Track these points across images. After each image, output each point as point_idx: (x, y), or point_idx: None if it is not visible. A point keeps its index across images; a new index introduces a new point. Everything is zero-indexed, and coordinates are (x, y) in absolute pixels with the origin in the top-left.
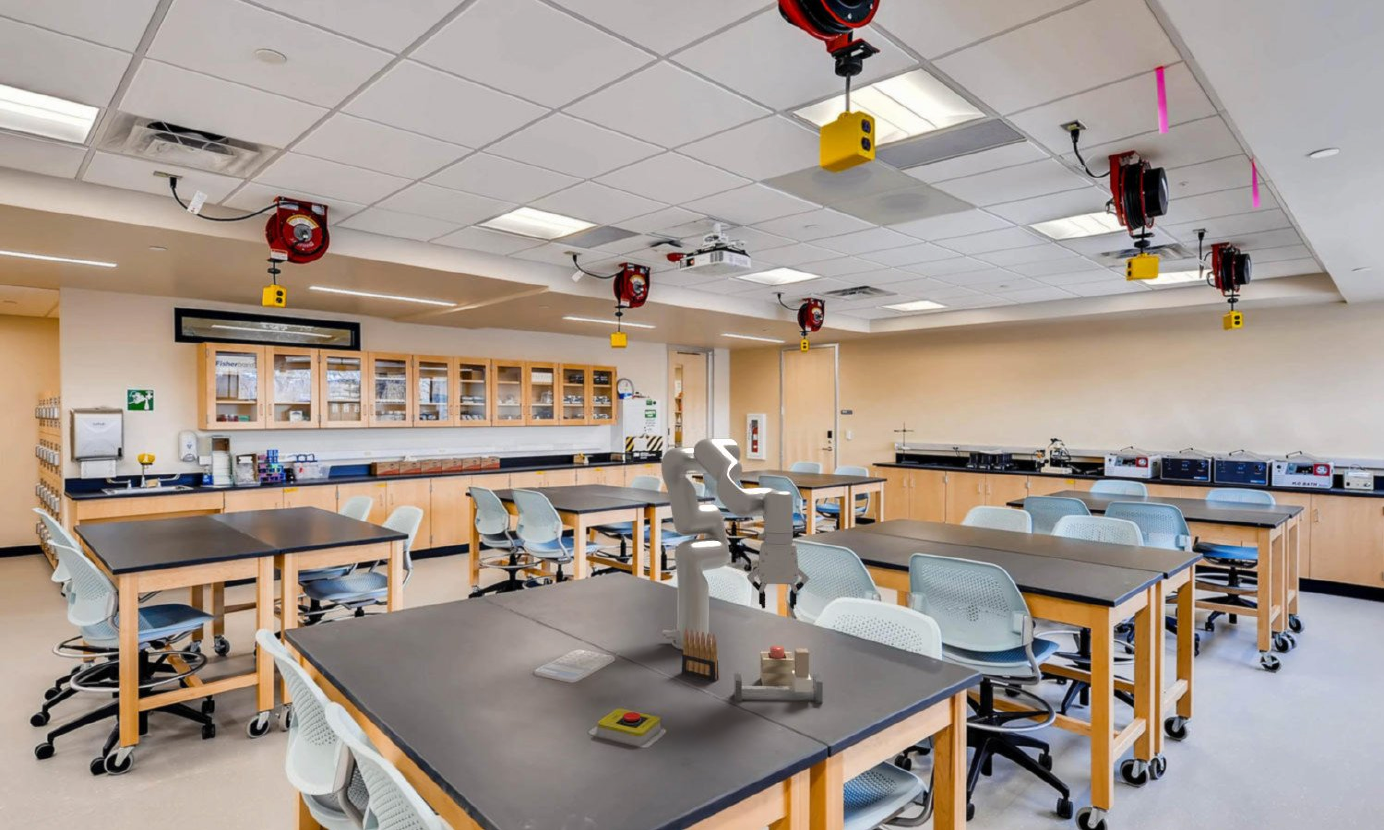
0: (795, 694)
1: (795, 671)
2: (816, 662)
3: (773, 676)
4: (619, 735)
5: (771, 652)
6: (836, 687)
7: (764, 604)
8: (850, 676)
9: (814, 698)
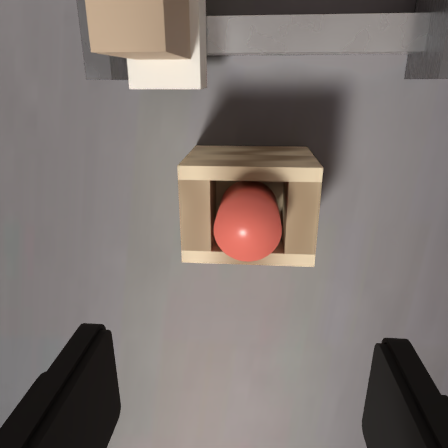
0: None
1: (186, 22)
2: None
3: (269, 152)
4: None
5: (277, 210)
6: (53, 147)
7: (396, 366)
8: (7, 240)
9: None
